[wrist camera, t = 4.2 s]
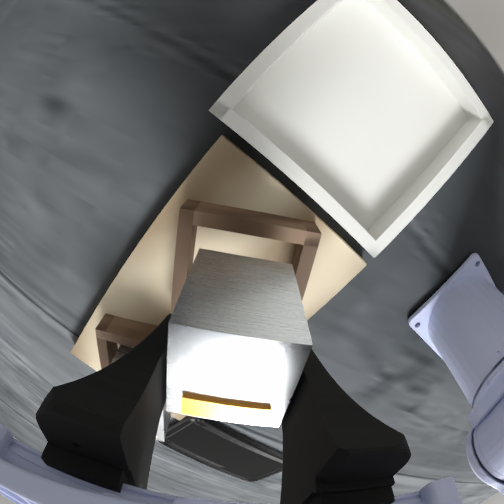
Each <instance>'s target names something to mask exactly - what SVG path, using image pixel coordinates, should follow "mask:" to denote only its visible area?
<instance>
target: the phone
mask: <svg viewBox="0 0 504 504" xmlns="http://www.w3.org/2000/svg"><path fill="white" fill-rule="evenodd" d="M159 442H160V443H161V444H163V445H165V446H167V447H169V448H171V449H173V450H175V451H177V452H179V453H181V454H183V455H185V456H187V457H189V458H191V459H194V460H196V461H198V462H200V463H202V464H205V465H207V466H209V467H212V468H214V469H216V470H219V471H221V472H223V473H226V474H228V475H231V476H234V477H236V478H239V479H241V480H244V481H249V482H254V481H258V480H261V479H264V478H266V477H269V476H271V475H274V474H277V473H279V472H282V469H283V454H281V453H279V452H276V451H274V450H272V449H270V448H268V447H265V446H263V445H261V444H259V443H257V442H255V441H253V440H251V439H249V438H247V437H245V436H243V435H241V434H239V433H237V432H235V431H233V430H231V429H229V428H227V427H225V426H223V425H221V424H220V423H218V422H216V421H214V420H212V419H206V418H200V417H194V416H193V417H191V416H186V417H184V418H183V419H181V420H180V421H177V422H175V423H174V424H172V425H170V426H168V429H167V433H166V437H165V442H163V441H159Z"/></svg>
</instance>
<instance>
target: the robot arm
mask: <svg viewBox="0 0 504 504" xmlns="http://www.w3.org/2000/svg"><path fill="white" fill-rule="evenodd" d="M476 262H477V264H476ZM171 315H172V314H168V315H167V316H166V317H165V318H164V320H163V321H162V322H161V323H160V324H159V325H158V326H157V327H156V328H155V329H154V330H153V331H152V332H151V333H150V334H149V335H148V336H147V337H146V338H145V339H144V340H142V341H141V342H140V343H139V344H138V345H136V346H135V347H134V348H133V349H132V350H130V351H129V352H128V353H126V354H125V355H124V356H122V357H121V358H119V359H118V360H116V361H115V362H113V363H111V364H110V365H108V366H106V367H104V368H103V369H101V370H99V371H97V372H95V373H93V374H91V375H88V376H86V377H84V378H81V379H79V380H76V381H73V382H70V383H66V384H63V385H60V386H56V387H53V388H52V390H51V391H50V392H49V393H48V394H47V396H46V397H45V399H44V401H43V402H42V404H41V406H40V408H39V409H38V411H37V413H36V420H37V422H38V425H39V427H40V429H41V430H42V432H43V434H44V436H45V437H46V439H47V441H48V443H47V445H46V447H45V449H44V451H43V453H42V452H40V451H38V450H36V449H34V448H32V447H30V446H28V445H26V444H24V443H22V442H20V441H18V440H16V439H14V438H13V435H12V434H11V432H10V431H9V430H8V428H6V427H5V426H4V425H3V424H1V423H0V494H1V495H3V496H5V497H6V498H8V499H9V500H11V501H13V502H14V503H16V504H260V503H244V502H232V501H222V500H214V499H206V498H195V497H186V498H183V497H178V496H173V495H168V494H163V493H159V492H154V491H150V490H146V489H147V483H148V476H149V470H150V465H151V459H152V454H153V449H154V444H155V439H156V434H157V430H158V425H159V421H160V417H161V414H162V411H163V408H164V405H165V402H166V387H167V346H168V324H169V320H170V318H171ZM408 323H409V325H410V326H411V327H412V328H413V329H414V330H415V331H416V332H417V333H418V334H419V335H420V336H421V338H422V339H423V340H424V341H425V342H426V343H427V344H428V345H429V346H430V347H431V348H432V349H433V350H434V351H435V352H436V353H437V354H438V355H439V356H440V357H441V358H442V359H443V360H444V361H445V363H446V365H447V366H448V368H449V369H450V371H451V373H452V374H453V376H454V378H455V379H456V381H457V383H458V384H459V386H460V388H461V389H462V391H463V393H464V394H465V396H466V398H467V400H468V401H469V403H470V405H471V407H472V408H473V409H472V411H471V412H470V414H469V415H468V416H467V419H468V420H469V422H470V424H471V426H472V428H471V429H470V431H469V433H468V435H467V438H466V452H467V457H468V461H469V464H470V466H471V468H472V470H473V472H474V473H475V474H476V476H477V477H478V478H479V479H480V480H482V481H483V482H484V483H486V484H488V485H490V486H492V487H494V488H496V489H497V490H498V491H500V492H501V493H502V494H503V495H504V295H503V294H502V293H501V292H500V291H499V290H498V289H497V288H496V286H495V284H494V282H493V280H492V278H491V276H490V274H489V273H488V271H487V269H486V267H485V265H484V263H483V262H482V260H481V258H480V256H479V255H478V254H477V253H472V254H471V255H470V256H469V258H468V259H467V260H466V261H465V262H464V263H463V264H462V265H461V266H460V267H459V269H458V270H457V271H456V272H455V273H454V274H453V275H452V276H451V277H450V278H449V279H448V280H447V281H446V282H445V283H444V284H443V285H442V286H441V287H440V288H439V289H438V290H437V291H436V292H435V293H434V294H433V295H432V296H431V297H430V298H429V299H428V300H427V301H426V302H425V303H424V304H423V305H422V306H421V307H420V308H419V309H418V310H417V311H416V312H415V313H414V314H413V315H411V316H410V318H409V319H408ZM416 323H418V324H416ZM415 324H416V325H415ZM282 430H283V469H282V488H281V500H280V504H463V503H462V501H461V498H460V495H459V492H458V489H457V487H456V484H455V481H454V479H453V477H452V476H450V477H447V478H443V479H440V480H436V481H433V482H431V483H429V484H427V485H426V486H424V487H423V488H422V489H421V490H420V491H418V492H413V493H409V494H404V495H399V496H394V494H393V490H392V487H391V486H393V485H394V483H395V481H394V478H393V476H394V475H395V474H396V473H397V472H398V471H399V470H400V469H401V468H402V467H403V466H404V465H405V464H406V463H407V462H408V461H409V459H410V457H411V452H410V449H409V446H408V443H407V441H406V438H405V436H404V434H402V433H400V432H398V431H396V430H394V429H393V428H391V427H389V426H387V425H385V424H384V423H382V422H381V421H379V420H378V419H376V418H375V417H373V416H372V415H371V414H369V413H368V412H367V411H365V410H364V409H363V408H362V407H361V406H359V405H358V404H357V403H356V402H355V401H354V400H353V399H351V398H350V397H349V396H348V395H347V394H346V393H345V392H344V391H343V390H342V388H341V387H340V386H339V385H338V384H337V383H336V382H335V380H334V379H333V378H332V377H331V376H330V374H329V373H328V372H327V371H326V369H325V368H324V366H323V365H322V364H321V362H320V361H319V359H318V358H317V356H316V355H315V353H314V352H313V350H312V349H311V351H310V354H309V356H308V359H307V361H306V364H305V367H304V369H303V372H302V374H301V376H300V379H299V381H298V384H297V386H296V389H295V391H294V393H293V396H292V398H291V400H290V403H289V405H288V407H287V410H286V412H285V414H284V417H283V419H282Z"/></svg>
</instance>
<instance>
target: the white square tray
mask: <svg viewBox="0 0 504 504" xmlns="http://www.w3.org/2000/svg"><path fill="white" fill-rule="evenodd" d="M208 111H209V112H211V113H212V114H213V115H215V116H216V117H217V118H218V119H220V120H221V121H222V122H223V123H225V124H226V125H227V126H228V127H230V128H231V129H232V130H233V131H235V132H236V133H237V134H238V135H240V136H241V137H242V138H243V139H245V140H246V141H247V142H248V143H249V144H251V145H252V146H253V147H254V148H255V149H257V150H258V151H259V152H260V153H261V154H262V155H264V156H265V157H266V158H267V159H268V160H270V161H271V162H272V163H273V164H274V165H275V166H277V167H278V168H279V169H280V170H281V171H282V172H283V173H285V174H286V175H287V176H288V177H289V178H290V179H291V180H292V181H294V182H295V183H296V184H297V185H298V186H299V187H300V188H301V189H303V190H304V191H305V192H306V193H307V194H308V195H309V196H310V197H311V198H312V199H313V200H315V201H316V202H317V203H318V204H319V205H320V206H321V207H322V208H323V209H324V210H325V211H326V212H327V213H329V214H330V215H331V216H332V217H333V218H334V219H335V220H336V221H337V222H338V223H339V224H340V225H341V226H342V227H343V228H344V229H345V230H346V231H347V232H348V233H349V234H350V235H351V236H352V237H353V238H354V239H355V240H357V241H358V242H359V243H360V244H361V245H362V246H363V247H364V248H365V249H366V250H367V251H368V252H369V253H370V255H371V256H372V257H373V258H375V257H376V256H377V255H378V254H379V253H380V252H381V251H382V250H383V249H384V248H385V247H386V246H387V245H388V244H389V243H390V242H391V241H392V240H393V239H394V238H395V237H396V236H397V235H398V234H399V233H400V232H401V231H402V229H403V228H404V227H405V226H406V225H407V224H408V223H409V222H410V221H411V220H412V219H413V218H414V217H415V216H416V215H417V213H418V212H419V211H420V210H421V209H422V208H423V207H424V206H425V205H426V204H427V202H428V201H429V200H430V199H431V198H432V197H433V196H434V195H435V193H436V192H437V191H438V190H439V189H440V188H441V187H442V185H443V184H444V183H445V182H446V181H447V180H448V178H449V177H450V176H451V175H452V174H453V173H454V171H455V170H456V169H457V168H458V167H459V165H460V164H461V163H462V162H463V161H464V159H465V158H466V157H467V156H468V154H469V153H470V152H471V151H472V149H473V148H474V147H475V146H476V144H477V143H478V142H479V141H480V139H481V138H482V137H483V135H484V134H485V133H486V132H487V130H488V129H489V128H490V126H491V125H492V124H493V122H494V121H493V120H492V118H491V116H490V115H489V113H488V111H487V110H486V108H485V107H484V105H483V103H482V102H481V100H480V99H479V97H478V96H477V94H476V93H475V91H474V90H473V88H472V87H471V86H470V84H469V83H468V81H467V80H466V78H465V77H464V76H463V74H462V73H461V72H460V70H459V69H458V68H457V66H456V65H455V64H454V62H453V61H452V60H451V59H450V57H449V56H448V55H447V54H446V52H445V51H444V50H443V49H442V48H441V46H440V45H439V44H438V43H437V42H436V41H435V39H434V38H433V37H432V36H431V35H430V34H429V33H428V32H427V30H426V29H425V28H424V27H423V26H422V25H421V24H420V23H419V22H418V21H417V20H416V19H415V18H414V17H413V16H412V15H411V14H410V13H409V12H408V11H407V10H406V9H405V8H404V7H403V6H402V5H401V4H400V3H399V2H398V1H397V0H317V1H316V2H315V3H314V4H313V5H311V6H310V7H309V8H308V9H307V10H306V11H305V12H303V13H302V14H301V15H300V16H299V17H298V18H297V19H296V20H295V21H294V22H292V23H291V24H290V25H289V26H288V27H287V28H286V29H285V30H284V31H283V32H282V33H281V34H280V35H279V36H278V37H277V38H275V39H274V40H273V41H272V42H271V43H270V44H269V45H268V46H267V47H266V48H265V49H264V50H263V51H262V52H261V53H260V54H259V55H258V56H257V57H256V58H255V60H254V61H253V62H252V63H251V64H250V65H249V66H248V67H247V68H246V69H245V70H244V71H243V72H242V73H241V74H240V75H239V76H238V78H237V79H236V80H235V81H234V82H233V83H232V84H231V85H230V86H229V87H228V89H227V90H226V91H225V92H224V93H223V94H222V95H221V96H220V98H219V99H218V100H217V101H216V102H215V103H214V104H213V106H212V107H211V108H210V109H209V110H208Z"/></svg>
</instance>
